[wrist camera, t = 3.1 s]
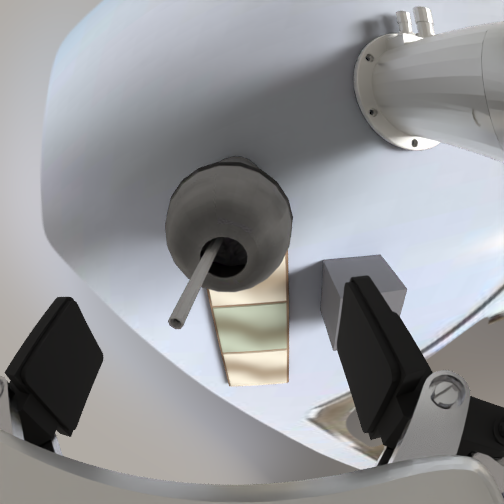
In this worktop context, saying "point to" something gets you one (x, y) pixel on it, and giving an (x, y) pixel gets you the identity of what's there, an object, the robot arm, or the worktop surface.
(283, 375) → the game track
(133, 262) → the worktop surface
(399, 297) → the die
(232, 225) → the beverage cup
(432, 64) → the robot arm
